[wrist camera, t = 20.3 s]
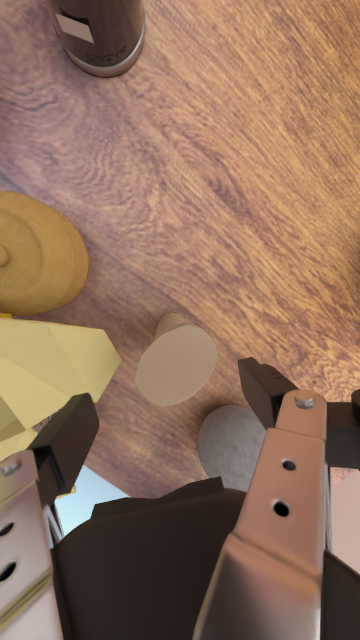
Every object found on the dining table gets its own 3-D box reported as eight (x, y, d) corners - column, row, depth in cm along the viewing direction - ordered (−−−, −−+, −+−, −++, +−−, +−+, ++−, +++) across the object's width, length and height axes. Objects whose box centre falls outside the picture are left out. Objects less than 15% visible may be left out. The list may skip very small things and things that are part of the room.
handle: (200, 317, 30) (232, 357, 15) (168, 350, 31) (170, 418, 16) (174, 294, 29) (182, 311, 14) (143, 328, 30) (119, 378, 15)
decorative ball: (252, 385, 32) (288, 432, 23) (260, 440, 34) (297, 506, 25) (187, 399, 32) (195, 452, 22) (199, 454, 34) (212, 525, 24)
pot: (27, 191, 26) (-59, 138, 16) (115, 247, 27) (85, 231, 18) (-13, 275, 27) (-115, 275, 17) (72, 323, 29) (23, 347, 19)
